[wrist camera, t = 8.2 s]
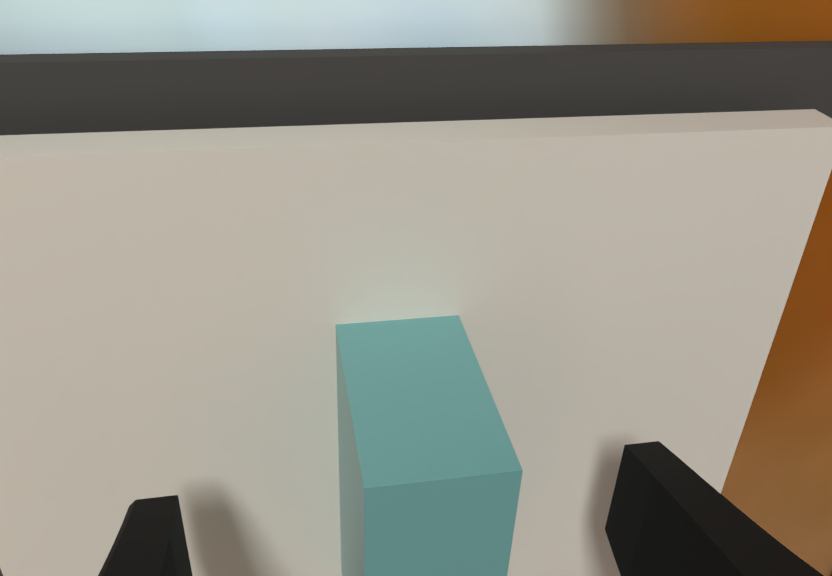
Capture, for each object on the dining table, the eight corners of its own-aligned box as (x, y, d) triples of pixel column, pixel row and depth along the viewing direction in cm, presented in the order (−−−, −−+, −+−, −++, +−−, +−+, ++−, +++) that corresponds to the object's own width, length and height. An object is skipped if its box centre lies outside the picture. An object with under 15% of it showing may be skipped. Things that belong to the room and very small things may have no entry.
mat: (845, 40, 13) (860, 47, 13) (682, 548, 20) (689, 561, 20) (-201, 57, 11) (-215, 67, 10) (23, 640, 17) (19, 657, 17)
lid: (794, 97, 13) (1036, 231, 9) (654, 562, 20) (762, 763, 16) (-110, 123, 11) (-322, 321, 7) (65, 645, 17) (11, 908, 13)
